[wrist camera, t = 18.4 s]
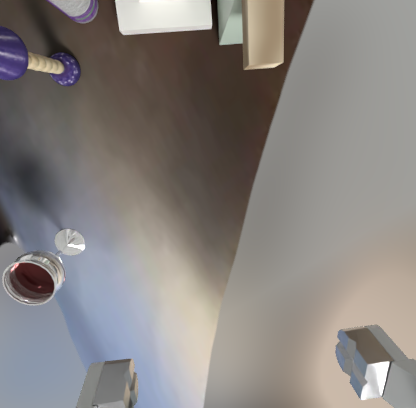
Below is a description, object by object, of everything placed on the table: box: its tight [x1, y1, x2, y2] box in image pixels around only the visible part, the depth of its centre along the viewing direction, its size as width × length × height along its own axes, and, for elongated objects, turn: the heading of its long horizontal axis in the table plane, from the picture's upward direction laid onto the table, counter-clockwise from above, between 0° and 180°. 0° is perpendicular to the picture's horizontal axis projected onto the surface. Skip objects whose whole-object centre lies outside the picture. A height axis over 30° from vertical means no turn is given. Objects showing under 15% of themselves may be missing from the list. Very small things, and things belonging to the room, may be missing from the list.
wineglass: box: [2, 229, 85, 305], centre depth 41 cm, size 7×7×12 cm
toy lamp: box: [0, 26, 81, 86], centre depth 31 cm, size 5×5×17 cm
